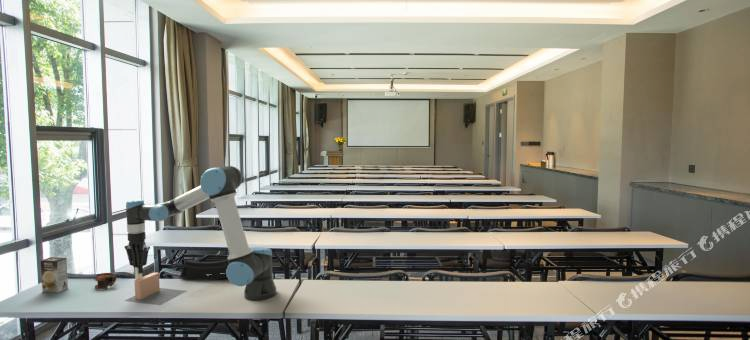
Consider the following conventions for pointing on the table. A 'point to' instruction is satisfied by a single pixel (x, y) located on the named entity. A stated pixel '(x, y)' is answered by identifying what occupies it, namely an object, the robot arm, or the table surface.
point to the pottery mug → (104, 280)
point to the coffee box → (54, 274)
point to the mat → (158, 296)
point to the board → (146, 285)
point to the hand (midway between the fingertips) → (138, 279)
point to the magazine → (204, 270)
